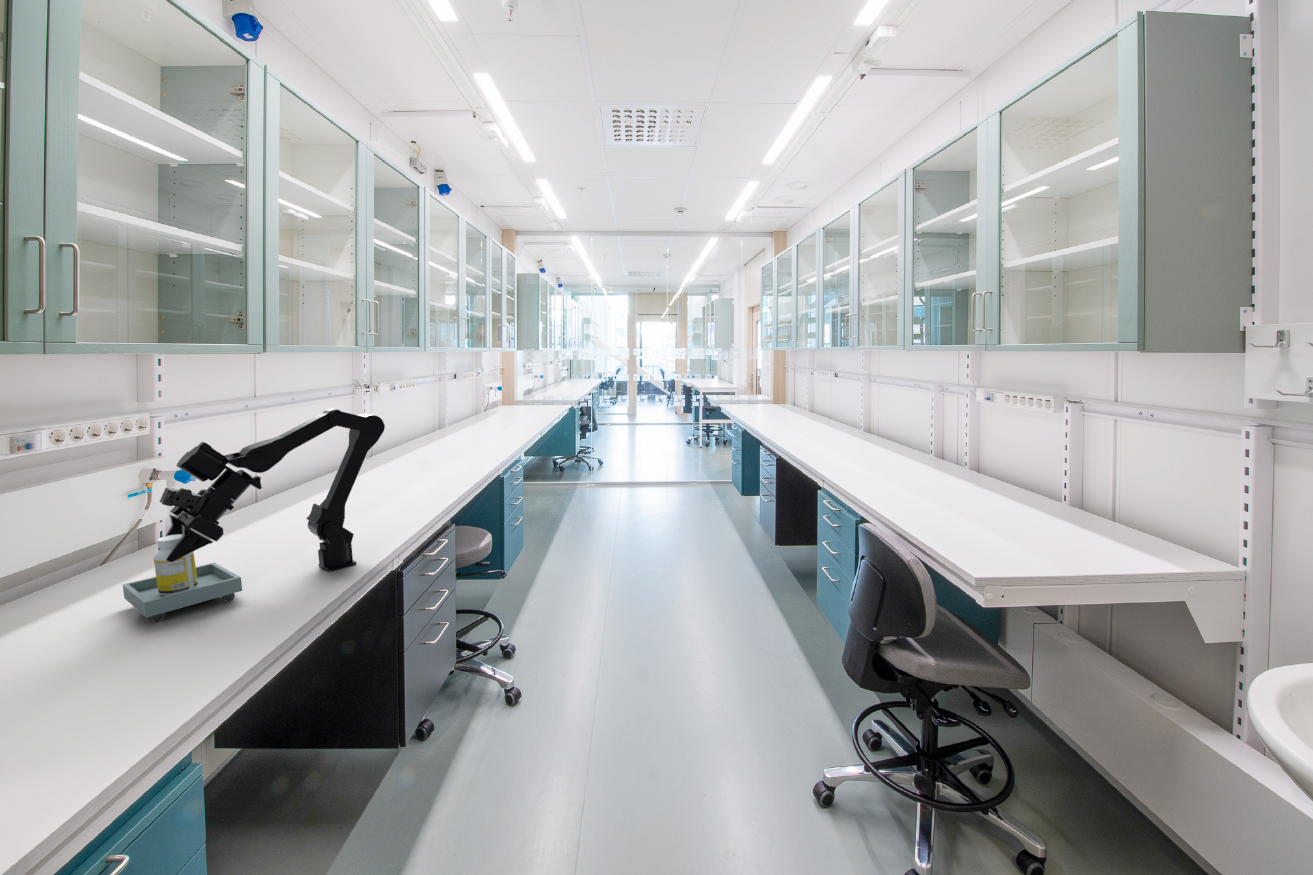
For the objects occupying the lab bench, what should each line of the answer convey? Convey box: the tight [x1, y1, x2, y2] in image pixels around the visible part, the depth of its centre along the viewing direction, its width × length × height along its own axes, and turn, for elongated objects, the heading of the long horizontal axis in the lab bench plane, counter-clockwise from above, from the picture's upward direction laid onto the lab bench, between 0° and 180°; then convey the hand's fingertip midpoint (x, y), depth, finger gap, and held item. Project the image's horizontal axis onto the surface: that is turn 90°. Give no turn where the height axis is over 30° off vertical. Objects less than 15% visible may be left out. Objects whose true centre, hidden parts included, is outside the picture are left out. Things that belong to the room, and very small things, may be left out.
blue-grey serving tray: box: [121, 562, 243, 623], centre depth 124 cm, size 16×16×5 cm
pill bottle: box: [153, 534, 198, 596], centre depth 123 cm, size 6×6×12 cm
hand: (164, 556), depth 121 cm, fingers open, 9 cm apart
